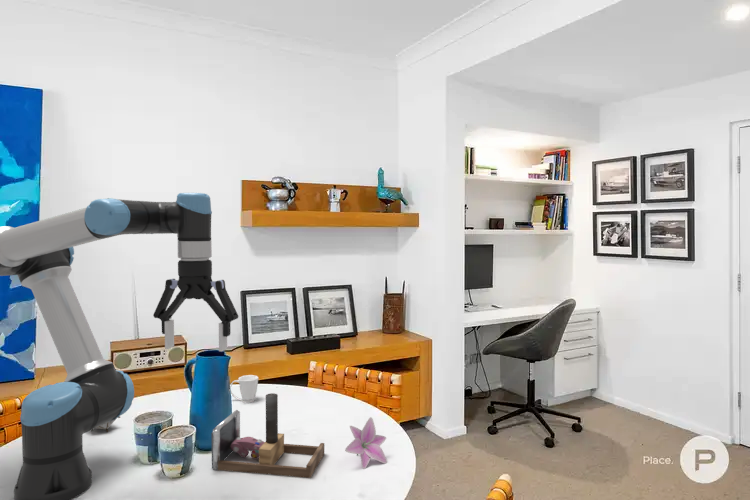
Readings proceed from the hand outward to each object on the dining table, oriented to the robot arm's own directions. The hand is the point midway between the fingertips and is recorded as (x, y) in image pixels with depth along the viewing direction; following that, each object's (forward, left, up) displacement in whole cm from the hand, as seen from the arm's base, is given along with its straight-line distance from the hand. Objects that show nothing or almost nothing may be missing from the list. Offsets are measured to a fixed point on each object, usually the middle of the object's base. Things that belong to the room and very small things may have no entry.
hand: (196, 349), depth 121 cm
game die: (+23, +43, -32) cm, 58 cm away
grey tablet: (+12, -1, -32) cm, 34 cm away
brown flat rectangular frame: (+12, -14, -32) cm, 37 cm away
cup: (+54, +12, -32) cm, 64 cm away
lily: (+17, -38, -32) cm, 52 cm away
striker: (+12, -14, -32) cm, 37 cm away
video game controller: (+14, -8, -32) cm, 36 cm away
